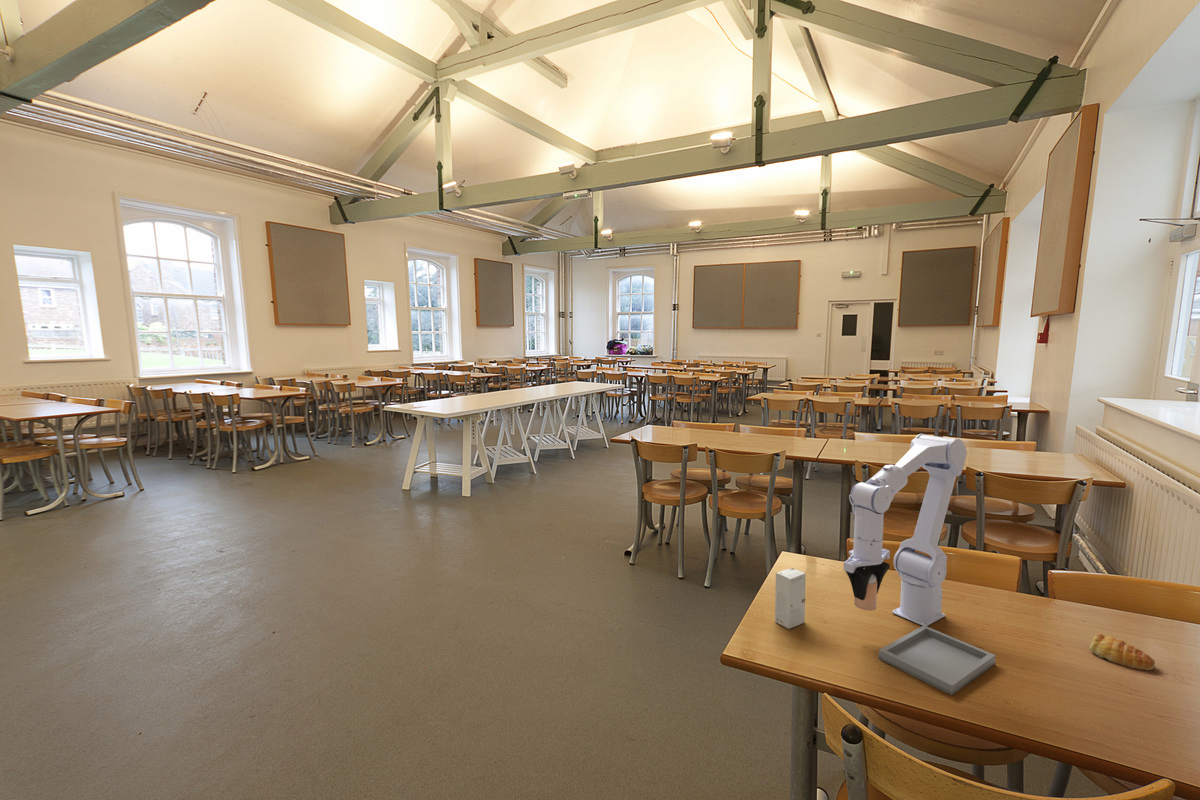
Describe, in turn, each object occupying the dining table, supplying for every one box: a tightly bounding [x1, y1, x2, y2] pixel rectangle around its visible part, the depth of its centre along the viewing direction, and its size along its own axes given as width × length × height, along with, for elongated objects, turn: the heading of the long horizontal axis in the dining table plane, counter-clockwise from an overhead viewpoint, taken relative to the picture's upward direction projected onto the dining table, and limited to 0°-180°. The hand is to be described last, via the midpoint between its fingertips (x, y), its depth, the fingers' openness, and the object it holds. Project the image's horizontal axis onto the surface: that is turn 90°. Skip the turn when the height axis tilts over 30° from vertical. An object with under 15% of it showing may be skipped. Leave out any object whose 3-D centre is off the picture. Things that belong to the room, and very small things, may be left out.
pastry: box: [1089, 632, 1156, 671], centre depth 110 cm, size 9×7×4 cm
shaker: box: [854, 574, 878, 612], centre depth 119 cm, size 4×4×7 cm
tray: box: [878, 625, 996, 696], centre depth 109 cm, size 18×14×2 cm
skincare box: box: [774, 567, 806, 629], centre depth 125 cm, size 6×4×12 cm
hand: (865, 595), depth 119 cm, fingers closed on shaker, 4 cm apart
